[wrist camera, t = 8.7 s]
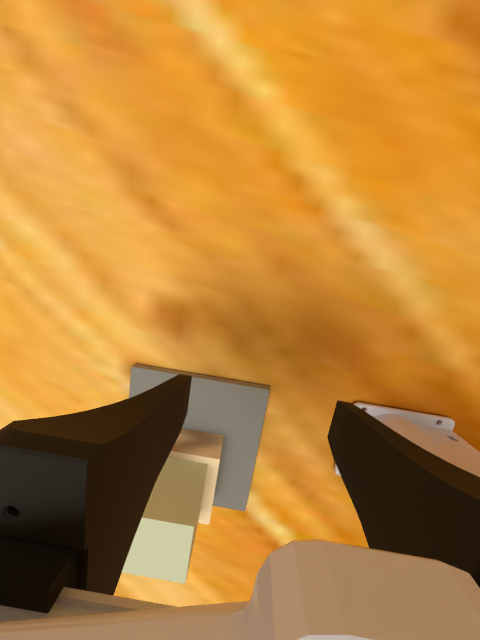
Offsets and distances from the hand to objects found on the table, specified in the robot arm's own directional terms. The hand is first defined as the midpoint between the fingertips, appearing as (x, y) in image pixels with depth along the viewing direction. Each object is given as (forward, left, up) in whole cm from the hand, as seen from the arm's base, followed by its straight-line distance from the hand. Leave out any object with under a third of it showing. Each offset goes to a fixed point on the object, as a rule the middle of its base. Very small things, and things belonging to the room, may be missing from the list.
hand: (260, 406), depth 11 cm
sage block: (+5, +13, -7) cm, 15 cm away
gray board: (+5, +11, -10) cm, 16 cm away
